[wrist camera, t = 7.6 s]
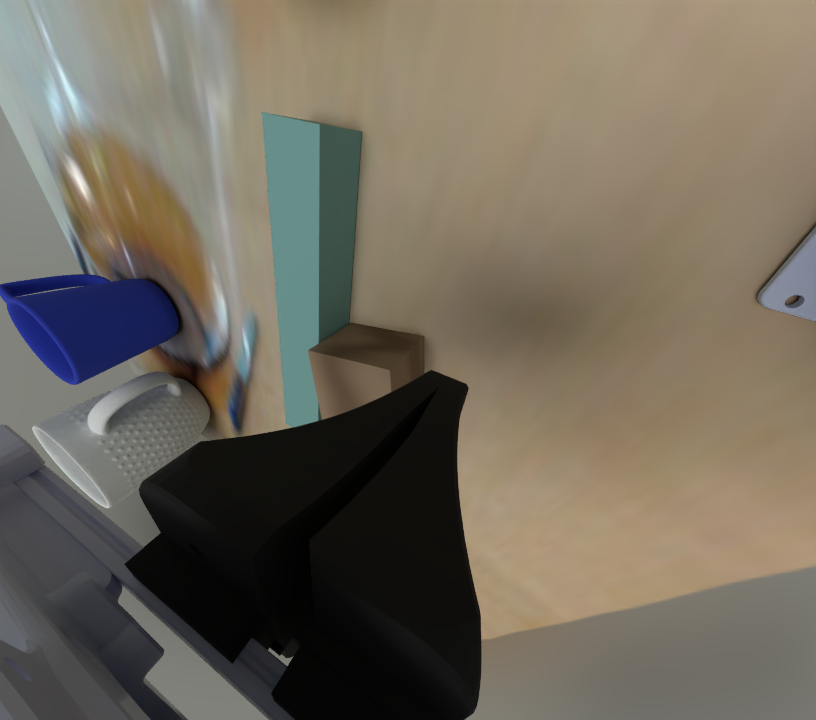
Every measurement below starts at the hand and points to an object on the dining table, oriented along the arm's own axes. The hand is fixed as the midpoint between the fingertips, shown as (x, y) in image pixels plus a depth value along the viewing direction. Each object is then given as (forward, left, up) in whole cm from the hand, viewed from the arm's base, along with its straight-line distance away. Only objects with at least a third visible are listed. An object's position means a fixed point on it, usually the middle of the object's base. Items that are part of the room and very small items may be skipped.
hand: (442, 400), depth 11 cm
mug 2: (+34, +25, -10) cm, 43 cm away
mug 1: (+37, +12, -10) cm, 40 cm away
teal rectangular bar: (+12, +4, -10) cm, 16 cm away
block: (+6, +9, -10) cm, 15 cm away
